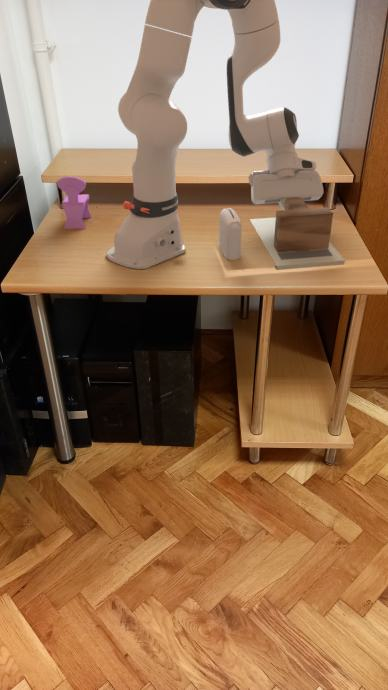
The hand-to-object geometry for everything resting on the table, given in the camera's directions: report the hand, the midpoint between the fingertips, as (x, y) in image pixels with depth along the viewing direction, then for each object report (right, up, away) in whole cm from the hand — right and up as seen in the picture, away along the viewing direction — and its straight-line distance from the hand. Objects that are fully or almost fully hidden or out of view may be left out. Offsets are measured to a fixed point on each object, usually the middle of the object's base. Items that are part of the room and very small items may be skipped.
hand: (290, 215), depth 161 cm
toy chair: (-62, 0, +12) cm, 63 cm away
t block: (+1, -8, -3) cm, 8 cm away
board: (+1, -8, -1) cm, 8 cm away
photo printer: (-17, -12, -6) cm, 22 cm away
